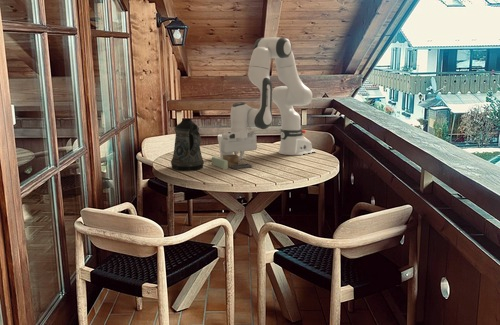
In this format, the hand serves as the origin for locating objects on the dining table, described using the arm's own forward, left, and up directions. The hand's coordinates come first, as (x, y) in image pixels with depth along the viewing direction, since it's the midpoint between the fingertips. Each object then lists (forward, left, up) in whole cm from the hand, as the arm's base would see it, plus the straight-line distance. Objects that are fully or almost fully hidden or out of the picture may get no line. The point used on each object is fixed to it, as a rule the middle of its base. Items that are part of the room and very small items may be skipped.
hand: (239, 159), depth 265 cm
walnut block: (+5, 0, -2) cm, 5 cm away
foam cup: (-2, -17, -2) cm, 17 cm away
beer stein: (+26, -4, -2) cm, 27 cm away
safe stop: (+11, 0, -2) cm, 12 cm away
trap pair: (+3, 0, -2) cm, 4 cm away
